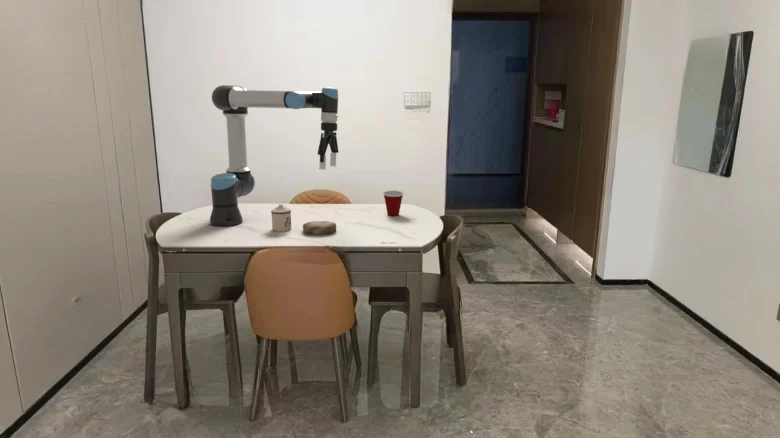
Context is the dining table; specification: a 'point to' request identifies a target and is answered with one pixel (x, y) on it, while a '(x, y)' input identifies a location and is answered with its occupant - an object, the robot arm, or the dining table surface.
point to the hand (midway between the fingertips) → (327, 167)
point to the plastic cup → (393, 202)
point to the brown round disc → (319, 228)
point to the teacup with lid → (281, 218)
